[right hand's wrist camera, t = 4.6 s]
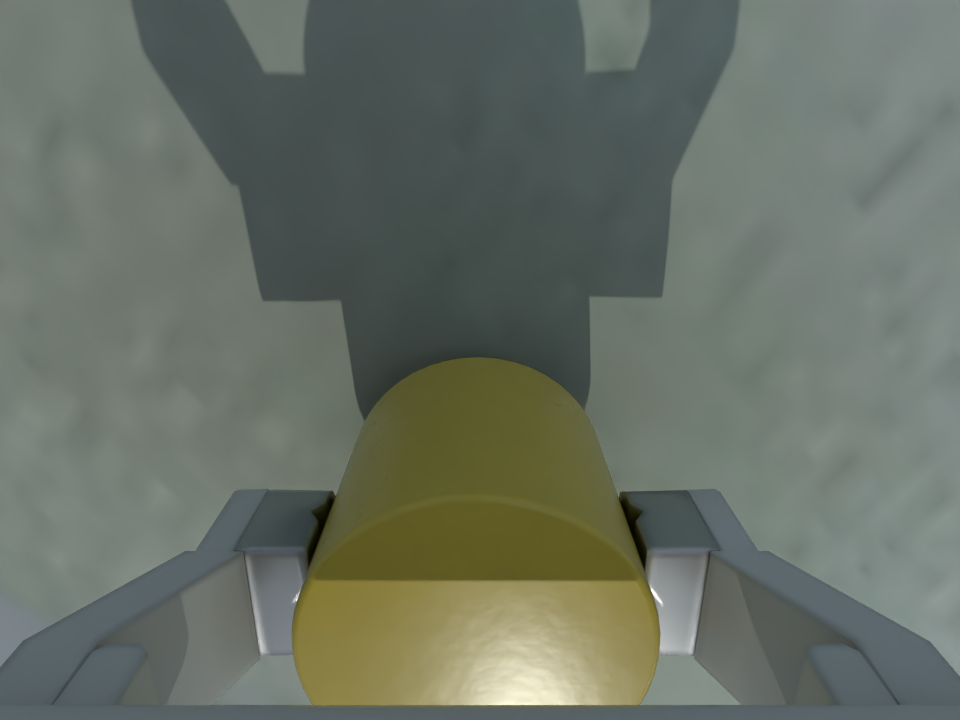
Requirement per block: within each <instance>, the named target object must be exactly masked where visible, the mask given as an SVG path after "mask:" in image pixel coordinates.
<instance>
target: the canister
mask: <svg viewBox="0 0 960 720" xmlns="http://www.w3.org/2000/svg"><path fill="white" fill-rule="evenodd" d="M291 631H292V650H293V655H294V660H295V665H296V670H297V673H298V676H299V678H300V681H301V684H302V686H303V689H304V691H305V692H306V694H307V696H308V698H309V699H310V701H311V703H312V705H640V703H641V702H642V700H643V698H644V697H645V695H646V693H647V692H648V689H649V687H650V684H651V682H652V679H653V677H654V674H655V670H656V665H657V661H658V657H659V651H660V635H661V632H660V623H659V614H658V611H657V607H656V604H655V600H654V597H653V594H652V591H651V588H650V585H649V583H648V580H647V577H646V574H645V571H644V568H643V566H642V563H641V560H640V557H639V554H638V552H637V549H636V546H635V543H634V540H633V537H632V535H631V532H630V529H629V526H628V523H627V521H626V518H625V515H624V512H623V509H622V506H621V504H620V501H619V498H618V495H617V492H616V490H615V487H614V484H613V481H612V478H611V475H610V473H609V470H608V467H607V464H606V461H605V459H604V456H603V453H602V450H601V447H600V444H599V442H598V439H597V436H596V433H595V431H594V429H593V426H592V424H591V422H590V420H589V418H588V416H587V415H586V413H585V412H584V410H583V409H582V407H581V406H580V404H579V403H578V402H577V401H576V400H575V399H574V398H573V396H572V395H571V394H570V393H569V392H568V391H566V390H565V389H564V388H563V387H562V386H561V385H559V384H558V383H557V382H555V381H554V380H552V379H551V378H549V377H548V376H546V375H545V374H543V373H540V372H538V371H536V370H534V369H532V368H530V367H527V366H524V365H521V364H518V363H515V362H512V361H507V360H502V359H497V358H484V357H472V358H459V359H453V360H448V361H443V362H440V363H437V364H433V365H430V366H427V367H425V368H423V369H421V370H418V371H416V372H414V373H412V374H411V375H409V376H407V377H406V378H404V379H403V380H401V381H399V382H398V383H397V384H396V385H394V386H393V387H392V388H391V389H390V390H388V391H387V392H386V393H385V394H384V395H383V396H382V398H381V399H380V400H379V401H378V402H377V403H376V404H375V406H374V407H373V409H372V410H371V412H370V413H369V415H368V416H367V418H366V420H365V422H364V424H363V426H362V428H361V431H360V433H359V436H358V439H357V441H356V444H355V447H354V449H353V452H352V455H351V457H350V460H349V463H348V465H347V468H346V471H345V473H344V476H343V479H342V481H341V484H340V487H339V489H338V492H337V495H336V497H335V500H334V503H333V505H332V508H331V510H330V513H329V516H328V518H327V521H326V524H325V526H324V529H323V532H322V534H321V537H320V540H319V542H318V545H317V548H316V550H315V553H314V556H313V558H312V561H311V564H310V566H309V569H308V572H307V574H306V577H305V580H304V582H303V585H302V587H301V590H300V593H299V596H298V599H297V603H296V606H295V609H294V614H293V622H292V629H291Z"/></svg>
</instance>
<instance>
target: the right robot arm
mask: <svg viewBox="0 0 960 720" xmlns="http://www.w3.org/2000/svg"><path fill="white" fill-rule="evenodd" d="M335 497H336V496H335V494H334V492H333V491H315V490H268V489H249V490H238V491H235V492H234V493H233V494H232V496H231V497H230V499H229V500H228V502H227V503H226V505H225V506H224V508H223V509H222V511H221V512H220V514H219V516H218V517H217V519H216V520H215V522H214V523H213V525H212V526H211V528H210V529H209V531H208V532H207V534H206V535H205V537H204V539H203V540H202V542H201V543H200V545H199V546H198V548H197V549H196V551H185V552H183V553H181V554H179V555H178V556H176V557H174V558H172V559H170V560H169V561H167V562H165V563H163V564H161V565H160V566H158V567H156V568H154V569H152V570H151V571H149V572H147V573H145V574H143V575H141V576H140V577H138V578H136V579H134V580H132V581H131V582H129V583H127V584H125V585H123V586H122V587H120V588H118V589H116V590H114V591H113V592H111V593H109V594H107V595H105V596H103V597H102V598H100V599H98V600H96V601H94V602H93V603H91V604H89V605H87V606H85V607H84V608H82V609H80V610H78V611H76V612H74V613H73V614H71V615H69V616H67V617H65V618H64V619H62V620H60V621H58V622H56V623H55V624H53V625H51V626H49V627H47V628H46V629H44V630H42V631H40V632H38V633H36V634H35V635H33V636H31V637H29V638H28V639H26V640H24V641H23V642H22V643H21V644H20V645H19V646H18V647H17V649H16V650H15V651H14V652H13V653H12V654H11V655H10V657H9V658H8V659H7V660H6V661H5V662H4V664H3V665H2V666H1V667H0V720H960V676H959V675H958V674H957V673H956V672H955V670H954V669H953V668H952V667H951V666H950V665H949V663H948V662H947V661H946V660H945V659H944V657H943V656H942V655H941V654H940V653H939V652H938V650H937V649H936V648H935V647H934V646H933V645H932V643H931V642H930V641H928V640H926V639H924V638H922V637H921V636H919V635H917V634H915V633H914V632H912V631H910V630H908V629H906V628H905V627H903V626H901V625H899V624H897V623H896V622H894V621H892V620H890V619H888V618H887V617H885V616H883V615H881V614H880V613H878V612H876V611H874V610H872V609H871V608H869V607H867V606H865V605H863V604H862V603H860V602H858V601H856V600H855V599H853V598H851V597H849V596H847V595H846V594H844V593H842V592H840V591H838V590H837V589H835V588H833V587H831V586H829V585H828V584H826V583H824V582H822V581H821V580H819V579H817V578H815V577H813V576H812V575H810V574H808V573H806V572H804V571H803V570H801V569H799V568H797V567H796V566H794V565H792V564H790V563H788V562H787V561H785V560H783V559H781V558H779V557H778V556H776V555H774V554H772V553H770V552H769V551H758V550H757V548H756V547H755V545H754V544H753V542H752V540H751V539H750V537H749V536H748V534H747V533H746V531H745V530H744V528H743V527H742V525H741V523H740V522H739V520H738V519H737V517H736V516H735V514H734V513H733V511H732V510H731V508H730V506H729V505H728V503H727V502H726V500H725V499H724V497H723V496H722V494H721V493H720V492H719V491H718V490H716V489H700V490H675V491H636V492H620V496H619V501H620V504H621V506H622V509H623V512H624V515H625V518H626V521H627V523H628V526H629V529H630V532H631V535H632V537H633V540H634V543H635V546H636V549H637V552H638V554H639V557H640V560H641V563H642V566H643V568H644V571H645V574H646V577H647V580H648V583H649V585H650V588H651V591H652V594H653V597H654V600H655V604H656V607H657V611H658V614H659V623H660V632H661V635H660V651H659V655H683V656H694V659H695V660H696V661H697V662H698V663H699V664H700V665H701V666H702V667H703V668H704V669H706V670H707V671H708V672H709V673H710V674H711V675H712V676H713V677H714V678H715V679H716V680H717V681H718V682H719V683H720V684H721V685H722V686H723V687H724V688H725V689H726V690H727V691H728V692H729V693H730V694H731V695H732V696H733V697H734V698H735V699H736V700H737V701H738V702H739V703H740V704H742V705H212V704H213V703H214V702H216V701H217V700H218V699H219V698H220V697H221V696H222V695H223V694H224V693H225V692H226V691H227V690H228V689H229V688H230V687H231V686H232V685H233V684H234V683H235V682H236V681H237V680H238V679H239V678H241V677H242V676H243V675H244V674H245V673H246V672H247V671H248V670H249V669H250V668H251V667H252V666H253V665H254V664H255V663H256V662H257V661H258V660H259V659H260V657H259V656H270V655H293V650H292V631H291V629H292V622H293V614H294V609H295V606H296V603H297V599H298V596H299V593H300V590H301V587H302V585H303V582H304V580H305V577H306V574H307V572H308V569H309V566H310V564H311V561H312V558H313V556H314V553H315V550H316V548H317V545H318V542H319V540H320V537H321V534H322V532H323V529H324V526H325V524H326V521H327V518H328V516H329V513H330V510H331V508H332V505H333V503H334V500H335Z"/></svg>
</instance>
